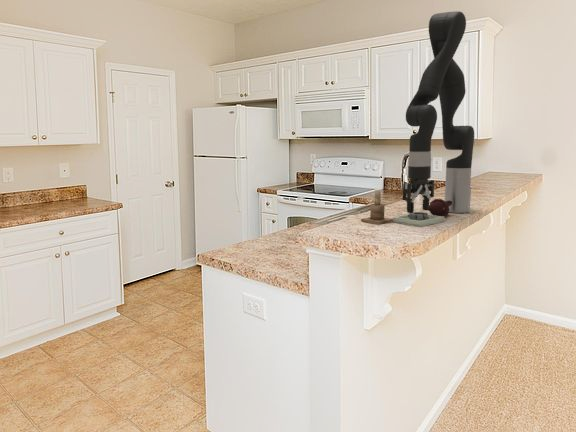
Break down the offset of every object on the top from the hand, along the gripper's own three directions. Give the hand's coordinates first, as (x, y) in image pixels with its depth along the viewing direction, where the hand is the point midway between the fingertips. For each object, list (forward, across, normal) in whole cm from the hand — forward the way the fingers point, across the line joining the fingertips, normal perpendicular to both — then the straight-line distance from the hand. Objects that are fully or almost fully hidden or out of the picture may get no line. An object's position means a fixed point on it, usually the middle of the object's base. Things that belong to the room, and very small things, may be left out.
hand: (418, 211), depth 161 cm
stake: (+4, -10, +9) cm, 15 cm away
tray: (+4, 0, 0) cm, 4 cm away
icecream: (+4, +14, +2) cm, 15 cm away
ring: (+3, 0, 0) cm, 3 cm away
